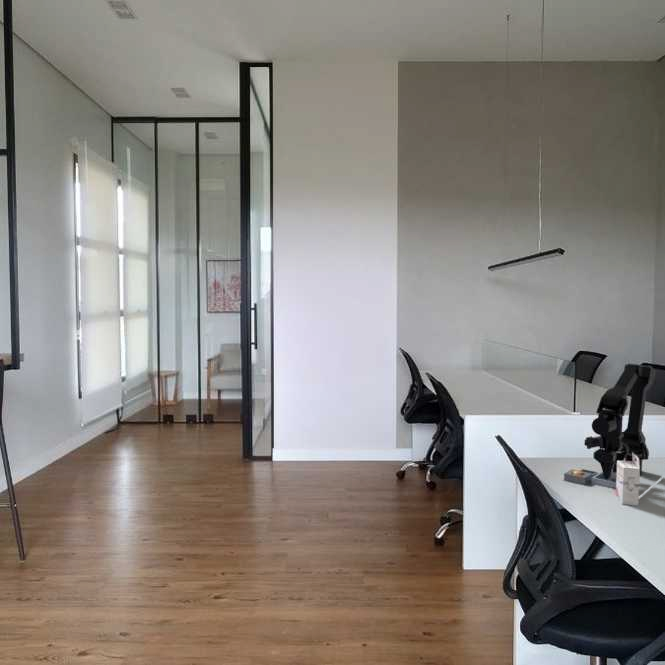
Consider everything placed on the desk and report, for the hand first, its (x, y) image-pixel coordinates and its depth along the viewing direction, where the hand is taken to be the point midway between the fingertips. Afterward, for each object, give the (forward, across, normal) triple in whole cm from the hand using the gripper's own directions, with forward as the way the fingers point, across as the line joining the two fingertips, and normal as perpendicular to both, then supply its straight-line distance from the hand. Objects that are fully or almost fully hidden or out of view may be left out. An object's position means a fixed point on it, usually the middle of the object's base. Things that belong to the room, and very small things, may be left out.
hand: (610, 476), depth 206 cm
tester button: (+2, +5, -9) cm, 10 cm away
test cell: (+2, 0, 0) cm, 2 cm away
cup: (+3, 0, 0) cm, 3 cm away
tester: (+3, 0, -9) cm, 10 cm away
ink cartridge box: (+3, +13, +9) cm, 16 cm away
